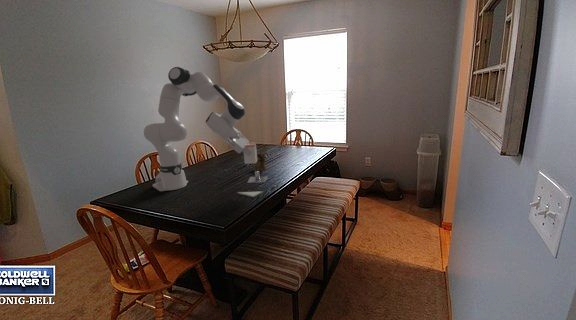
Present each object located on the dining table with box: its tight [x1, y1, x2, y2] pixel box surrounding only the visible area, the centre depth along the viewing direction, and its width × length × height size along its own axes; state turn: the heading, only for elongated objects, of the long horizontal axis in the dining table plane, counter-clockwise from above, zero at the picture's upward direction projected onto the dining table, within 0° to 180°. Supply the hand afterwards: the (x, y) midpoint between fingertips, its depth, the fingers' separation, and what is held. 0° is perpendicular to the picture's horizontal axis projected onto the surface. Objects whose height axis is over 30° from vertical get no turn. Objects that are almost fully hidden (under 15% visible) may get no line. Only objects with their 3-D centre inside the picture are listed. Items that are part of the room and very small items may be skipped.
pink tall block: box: [243, 142, 258, 165], centre depth 153 cm, size 6×6×10 cm
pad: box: [236, 190, 267, 198], centre depth 156 cm, size 12×12×1 cm
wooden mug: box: [253, 146, 268, 172], centre depth 193 cm, size 9×14×18 cm, turn 39°
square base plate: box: [246, 170, 268, 184], centre depth 173 cm, size 11×11×6 cm
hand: (251, 153), depth 153 cm, fingers closed on pink tall block, 6 cm apart
